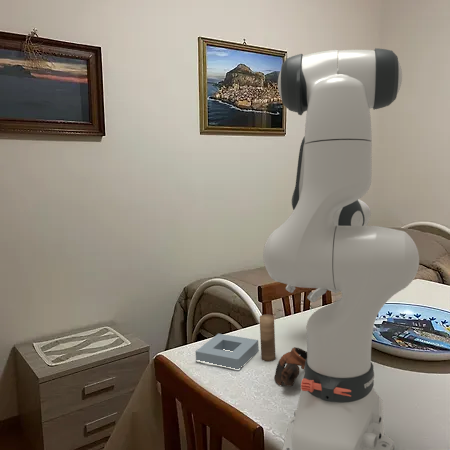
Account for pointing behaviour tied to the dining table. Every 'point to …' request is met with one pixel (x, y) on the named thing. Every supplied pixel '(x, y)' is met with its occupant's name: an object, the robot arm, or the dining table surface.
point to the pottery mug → (290, 366)
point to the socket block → (235, 359)
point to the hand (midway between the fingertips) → (299, 295)
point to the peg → (267, 337)
